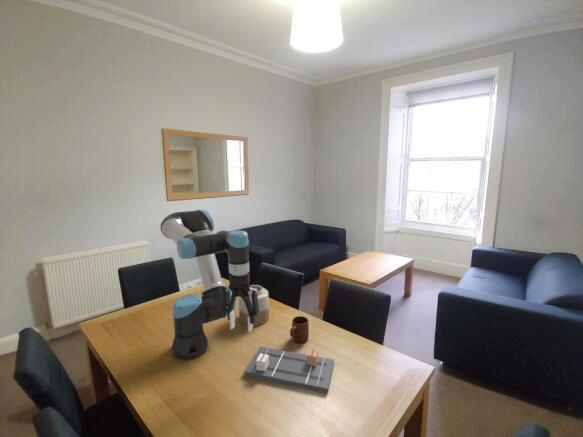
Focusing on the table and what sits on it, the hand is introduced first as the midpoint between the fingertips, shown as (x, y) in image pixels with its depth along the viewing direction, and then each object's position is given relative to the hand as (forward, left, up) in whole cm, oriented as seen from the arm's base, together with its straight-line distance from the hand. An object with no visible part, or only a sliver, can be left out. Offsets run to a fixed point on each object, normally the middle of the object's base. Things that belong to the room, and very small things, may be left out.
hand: (241, 328), depth 113 cm
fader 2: (+27, +8, -15) cm, 31 cm away
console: (+19, +4, -17) cm, 25 cm away
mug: (+17, +23, -17) cm, 33 cm away
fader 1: (+8, 0, -15) cm, 17 cm away
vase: (-10, +36, -17) cm, 41 cm away
